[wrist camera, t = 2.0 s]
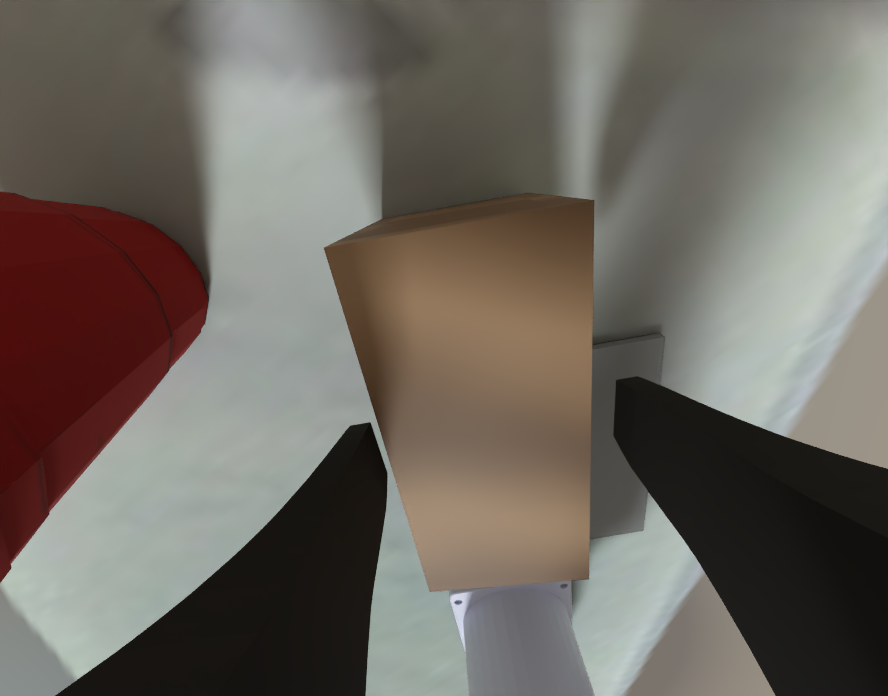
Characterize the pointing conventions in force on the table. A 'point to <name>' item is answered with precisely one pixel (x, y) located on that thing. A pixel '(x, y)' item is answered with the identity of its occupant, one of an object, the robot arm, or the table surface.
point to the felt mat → (611, 476)
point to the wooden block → (481, 380)
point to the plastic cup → (79, 343)
